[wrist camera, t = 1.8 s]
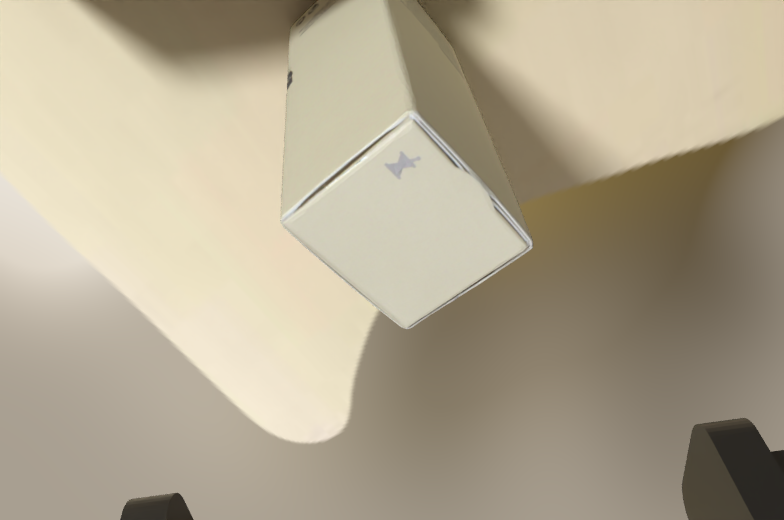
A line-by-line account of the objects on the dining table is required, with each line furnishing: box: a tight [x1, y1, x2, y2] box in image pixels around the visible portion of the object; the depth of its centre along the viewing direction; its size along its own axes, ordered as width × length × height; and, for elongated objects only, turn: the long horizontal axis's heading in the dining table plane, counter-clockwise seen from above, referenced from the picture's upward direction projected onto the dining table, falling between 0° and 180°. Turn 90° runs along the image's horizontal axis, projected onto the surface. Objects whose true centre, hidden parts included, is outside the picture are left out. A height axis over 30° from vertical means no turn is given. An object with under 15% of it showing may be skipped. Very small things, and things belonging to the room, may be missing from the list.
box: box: [280, 0, 533, 329], centre depth 23 cm, size 5×4×13 cm
